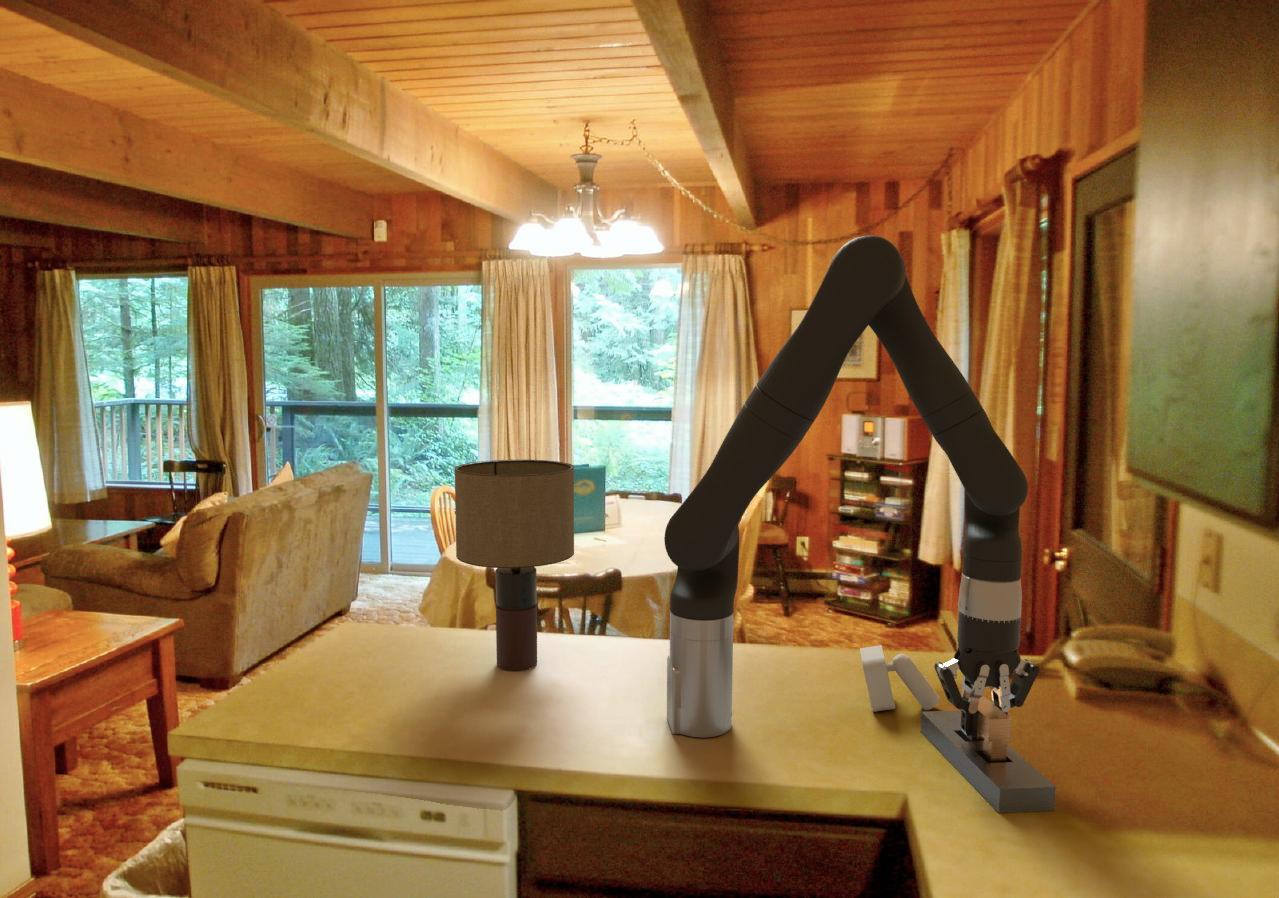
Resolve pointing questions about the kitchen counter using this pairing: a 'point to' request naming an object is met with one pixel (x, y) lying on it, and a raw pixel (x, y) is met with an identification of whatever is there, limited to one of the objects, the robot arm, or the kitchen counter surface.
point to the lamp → (515, 539)
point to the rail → (989, 767)
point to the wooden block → (992, 729)
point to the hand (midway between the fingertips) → (983, 735)
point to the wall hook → (881, 685)
